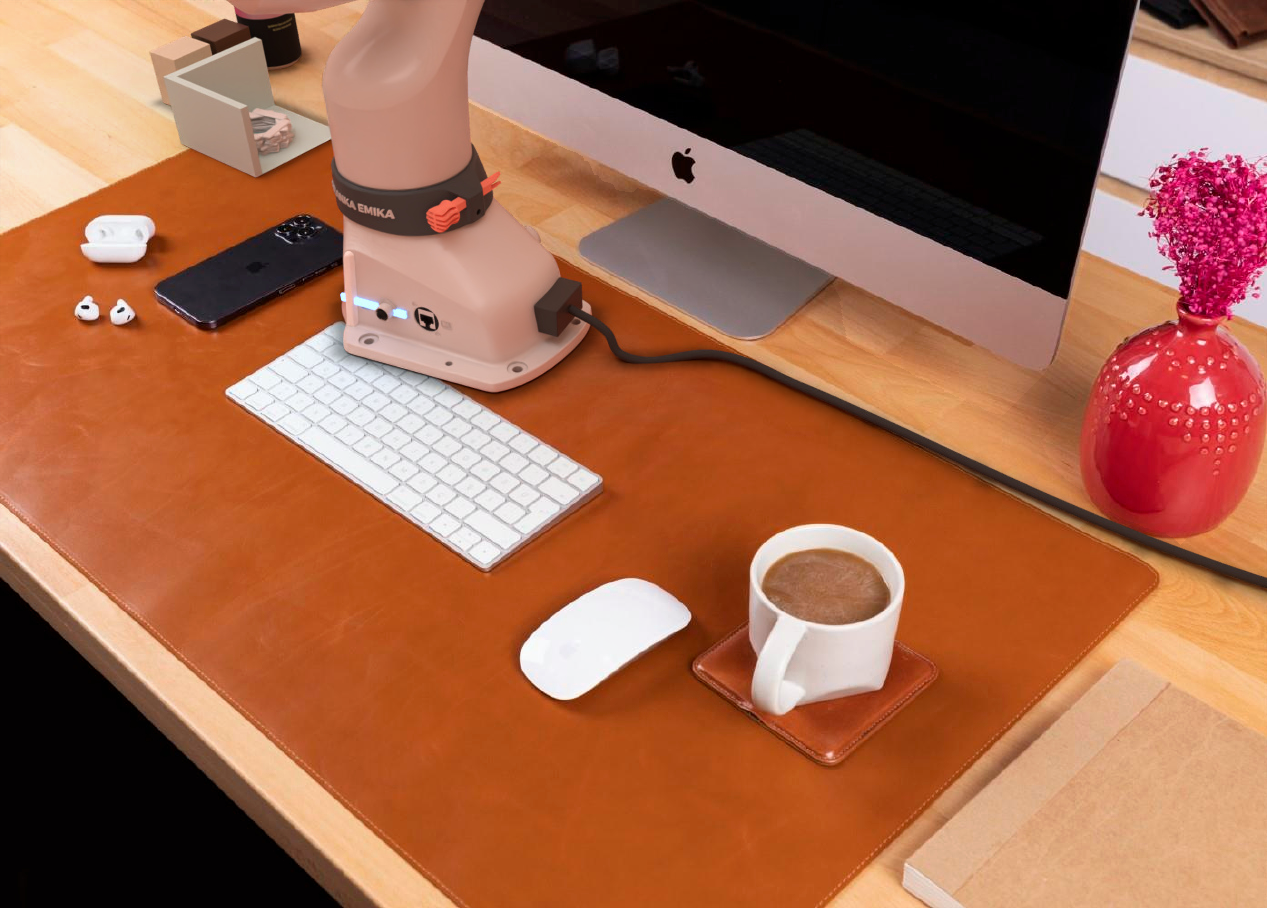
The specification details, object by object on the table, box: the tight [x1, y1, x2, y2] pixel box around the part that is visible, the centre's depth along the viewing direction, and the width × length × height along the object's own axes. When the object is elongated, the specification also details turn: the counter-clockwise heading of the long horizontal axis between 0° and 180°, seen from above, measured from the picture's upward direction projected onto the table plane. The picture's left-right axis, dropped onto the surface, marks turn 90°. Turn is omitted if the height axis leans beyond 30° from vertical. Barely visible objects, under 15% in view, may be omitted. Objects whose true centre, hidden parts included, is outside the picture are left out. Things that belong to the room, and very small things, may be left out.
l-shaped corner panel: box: [163, 37, 331, 178], centre depth 133 cm, size 12×12×8 cm
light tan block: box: [149, 35, 212, 107], centre depth 140 cm, size 4×5×6 cm
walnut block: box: [190, 18, 251, 56], centre depth 144 cm, size 4×5×6 cm
